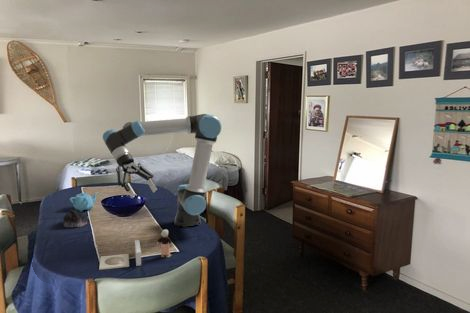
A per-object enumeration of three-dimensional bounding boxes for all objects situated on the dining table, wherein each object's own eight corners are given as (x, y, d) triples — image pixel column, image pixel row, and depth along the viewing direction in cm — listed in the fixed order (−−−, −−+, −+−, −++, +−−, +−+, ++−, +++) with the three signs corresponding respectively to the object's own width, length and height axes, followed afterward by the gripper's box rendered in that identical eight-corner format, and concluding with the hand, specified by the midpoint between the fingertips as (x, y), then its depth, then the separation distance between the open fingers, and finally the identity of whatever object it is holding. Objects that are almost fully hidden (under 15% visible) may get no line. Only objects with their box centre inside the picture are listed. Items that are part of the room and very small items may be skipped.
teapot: (68, 212, 221) (67, 195, 219) (81, 204, 235) (80, 188, 233) (87, 214, 220) (86, 196, 217) (99, 206, 233) (98, 190, 231)
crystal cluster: (81, 220, 209) (78, 203, 208) (93, 223, 201) (90, 206, 199) (58, 227, 199) (55, 210, 198) (70, 231, 191) (67, 213, 189)
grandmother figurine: (173, 254, 165) (173, 228, 163) (172, 257, 162) (172, 231, 160) (157, 254, 165) (157, 228, 163) (155, 257, 161) (155, 231, 159)
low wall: (139, 252, 166) (139, 239, 166) (141, 265, 153) (140, 252, 152) (135, 252, 166) (134, 240, 165) (136, 265, 153) (136, 252, 152)
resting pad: (128, 254, 163) (128, 253, 163) (129, 266, 152) (129, 265, 152) (100, 257, 159) (100, 256, 159) (99, 269, 148) (99, 268, 148)
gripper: (139, 159, 183) (159, 192, 178) (97, 165, 162) (119, 203, 157) (146, 150, 180) (167, 184, 174) (105, 155, 159) (127, 194, 153)
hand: (144, 193), depth 165 cm, fingers open, 13 cm apart
